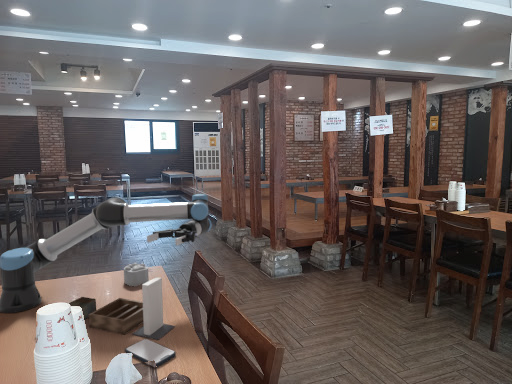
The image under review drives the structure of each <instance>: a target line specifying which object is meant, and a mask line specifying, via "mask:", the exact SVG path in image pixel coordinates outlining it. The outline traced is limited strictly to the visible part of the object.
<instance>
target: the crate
mask: <svg viewBox="0 0 512 384" xmlns="http://www.w3.org/2000/svg"><path fill="white" fill-rule="evenodd" d="M88 322H89V323H88V327H89V328H90V329H95V330H100V331H104V332H110V333H114V334H120V335H124V336H125V335H126V334H128V333H129V332H131V331H132V330H134V329H135V328H137V327H138V326H139V325H141V324H144V320H143V301H141V300H135V299H129V298H123V297H119V298H117V299H115V300H113V301H111V302H109V303H107V304H105V305H104V306H102V307H100V308H97V309H96V311H94V312H92V313H90V314H89V317H88Z"/></svg>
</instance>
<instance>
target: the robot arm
mask: <svg viewBox="0 0 512 384" xmlns="http://www.w3.org/2000/svg"><path fill="white" fill-rule="evenodd" d="M208 203H209V199H208V195H207V194H206V193H205V194H204V193H196V194H193V195H192V196H191V201H190V202H188V201H187V202H167V203H149V204H146V203H145V204H144V203H143V204H129V203H128V201H127V200H126V199H125V198H122V197H119V196H112V197H110V198H109V199H107V200H105V201H102V202H101V203H100V204H98V205H96V206H95V207H93V208H92V210H91V213H89V214H88V215H85V216H84V217H82V218H81V219H79V220H77V221H76V222H74V223H72V224H71V225H69V226H67V227H66V228H64V229H61V230H60V231H59V232H57V233H55V234H53V235H51V236H50V237H48V238H47V239H46V238H40V239H38V240H37V241H34V242H33V243H32V244H28V245H27V246H26V247H19V248H17V247H16V248H13V249H9V250H7V251H5V252H3V253H2V254H1V255H0V280H1V281H0V282H1V293H0V313H4V314H6V313H7V314H12V313H20V312H24V311H27V310H31V309H33V308H36V307H38V306H39V305H40V304H42V296H41V294H40V291H39V289H38V288H37V287H38V286H36V280H35V279H36V276H35V273H37V272H38V271H39V270H41V269H43V268H44V267H46V266H48V265H49V264H52V263H53V262H54V261H56V260H57V259H58V255H60V254H61V253H63V252H65V251H67V250H69V249H70V248H72V247H73V246H75V245H76V244H79V243H80V242H82V241H84V240H86V239H87V238H89V237H90V236H92V235H94V234H95V233H97V232H99V231H100V230H102V229H103V230H109V229H110V228H112V227H117V226H118V227H119V226H127V225H129V224H130V223H141V222H159V221H178V220H191V221H188V222H186V223H182V224H181V225H179V227H178V228H176V229H173V228H168V229H163V230H156V231H152V234H149V235H147V236H146V239H147V240H146V242H147V243H148V244H149V243H151V242H155V241H158V240H159V239H165V238H166V239H167V238H172V239H174V238H175V240H174V241H175V246H177V247H178V246H181V245H182V244H184V243H189V242H191V243H193V242H195V240H196V238H197V237H199V236H201V235H204V234H206V233H207V232H210V231H211V229H212V227H213V225H212V221H211V219H210V218H209V215H208V214H209V204H208Z"/></svg>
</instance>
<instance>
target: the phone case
mask: <svg viewBox="0 0 512 384" xmlns="http://www.w3.org/2000/svg"><path fill="white" fill-rule="evenodd" d="M124 352H126V353H125V354H127V353H132V354H133V357H132V358H134V359H136V360H138V361H140V362H142V363H144V362H148V361H153V360H154V361H155V363H156V366H157V367H156V368H159V367H160V366H162V365H164V364H165V363H168V362H169V361H171V360H173V359H174V358H175V357H176V351H175V350H173V349H171V348H168V347H167V346H164V345H163V344H159V343H157V342H155V341H153V340H152V339H149V338H142V339H141V340H139V341H137V342H135V343H133V344H131V345H129V346H127V347H126V348H125V349H124Z"/></svg>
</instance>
